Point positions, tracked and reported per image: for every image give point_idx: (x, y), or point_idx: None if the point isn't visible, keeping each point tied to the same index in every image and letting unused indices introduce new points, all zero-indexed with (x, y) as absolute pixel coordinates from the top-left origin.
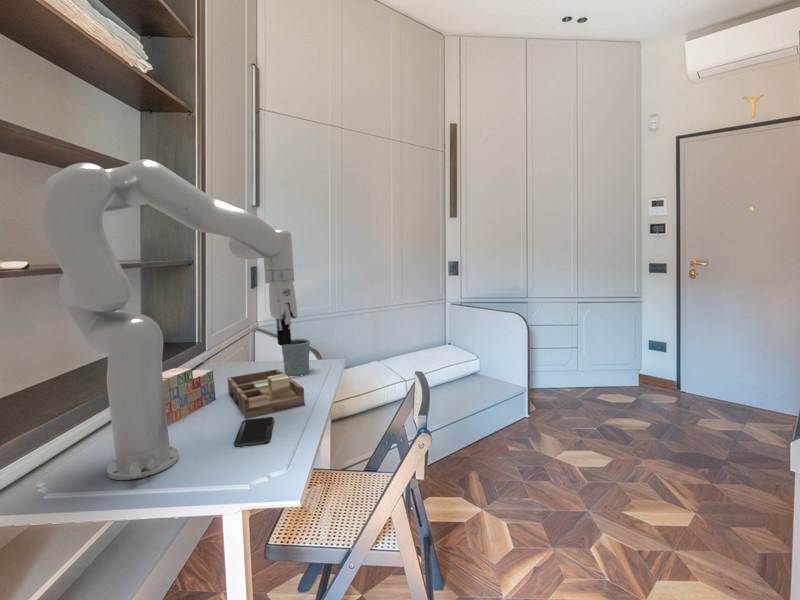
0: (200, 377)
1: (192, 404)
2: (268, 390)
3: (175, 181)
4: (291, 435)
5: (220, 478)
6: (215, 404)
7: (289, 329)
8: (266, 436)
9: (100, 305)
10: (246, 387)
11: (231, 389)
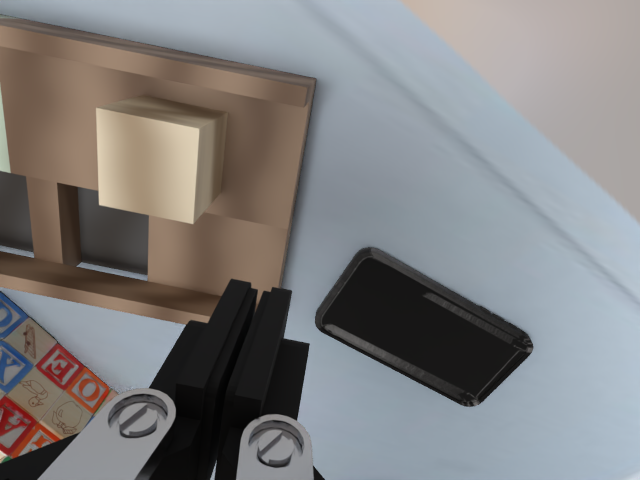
0: None
1: (81, 392)
2: (96, 157)
3: None
4: (547, 271)
5: (596, 471)
6: (60, 309)
7: (299, 432)
8: (500, 334)
9: None
10: None
11: None
